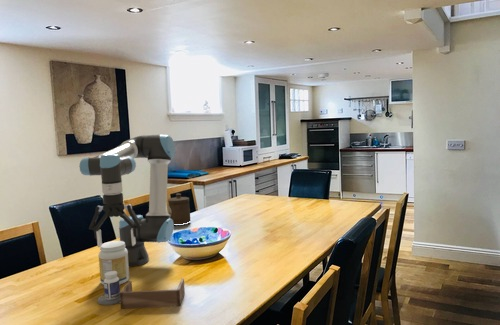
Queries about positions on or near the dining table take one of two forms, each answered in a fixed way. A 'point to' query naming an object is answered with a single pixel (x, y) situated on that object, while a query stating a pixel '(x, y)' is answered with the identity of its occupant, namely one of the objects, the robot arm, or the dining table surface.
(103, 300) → the coaster
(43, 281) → the dining table surface
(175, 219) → the wooden container
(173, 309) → the dining table surface
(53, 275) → the dining table surface
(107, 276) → the pill bottle
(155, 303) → the wooden u-shaped bracket
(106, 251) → the supplement tub
